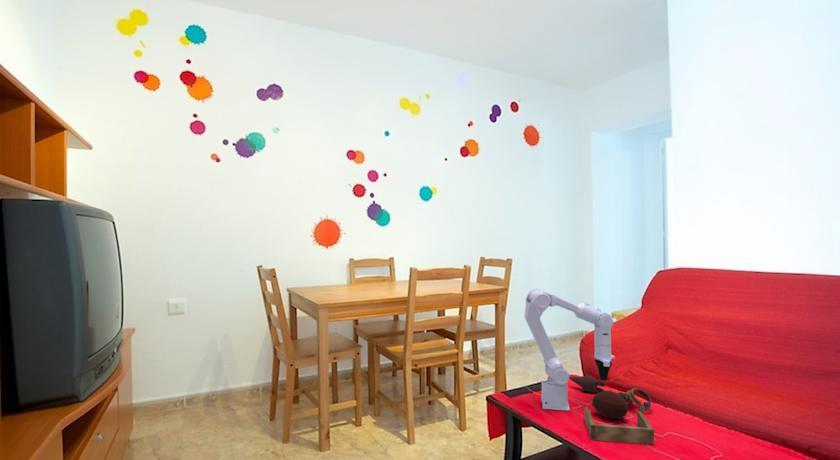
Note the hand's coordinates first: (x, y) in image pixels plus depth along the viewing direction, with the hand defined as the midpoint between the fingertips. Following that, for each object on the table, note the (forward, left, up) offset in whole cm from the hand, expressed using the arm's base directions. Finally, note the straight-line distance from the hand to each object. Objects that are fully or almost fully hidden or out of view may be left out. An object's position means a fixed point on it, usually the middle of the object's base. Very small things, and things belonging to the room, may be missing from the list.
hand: (603, 380), depth 162 cm
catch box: (0, -22, -9) cm, 24 cm away
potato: (0, -11, -10) cm, 15 cm away
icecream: (-4, +14, -10) cm, 17 cm away
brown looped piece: (+10, -1, -10) cm, 14 cm away
